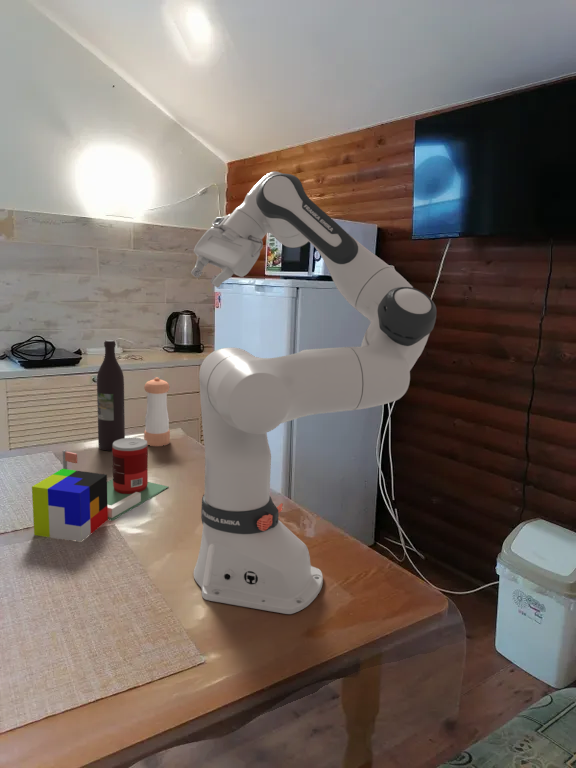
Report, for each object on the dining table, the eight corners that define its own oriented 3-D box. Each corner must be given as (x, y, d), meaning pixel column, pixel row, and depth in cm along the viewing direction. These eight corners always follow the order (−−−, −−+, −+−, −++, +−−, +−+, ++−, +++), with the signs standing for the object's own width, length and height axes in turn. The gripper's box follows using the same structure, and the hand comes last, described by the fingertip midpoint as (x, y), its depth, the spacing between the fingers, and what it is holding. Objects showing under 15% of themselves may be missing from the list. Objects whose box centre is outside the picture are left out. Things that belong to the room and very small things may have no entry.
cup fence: (140, 501, 131) (140, 449, 128) (112, 517, 122) (111, 462, 120) (92, 489, 136) (91, 439, 133) (62, 504, 127) (60, 451, 125)
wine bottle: (96, 444, 167) (93, 339, 160) (122, 442, 170) (120, 338, 164) (100, 452, 161) (98, 343, 154) (127, 449, 164) (125, 342, 157)
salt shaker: (146, 447, 167) (145, 380, 163) (142, 439, 173) (142, 375, 169) (172, 445, 169) (172, 379, 165) (167, 437, 176) (167, 374, 172)
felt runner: (168, 487, 140) (168, 486, 140) (111, 520, 122) (111, 519, 122) (120, 476, 145) (120, 475, 145) (59, 506, 127) (59, 505, 127)
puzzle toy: (81, 542, 112) (79, 493, 110) (34, 535, 114) (31, 486, 112) (107, 520, 122) (106, 474, 120) (63, 513, 124) (62, 468, 122)
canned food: (153, 483, 141) (152, 439, 139) (138, 496, 133) (138, 449, 131) (122, 479, 142) (122, 435, 140) (107, 492, 134) (106, 446, 132)
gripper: (274, 250, 129) (235, 299, 128) (228, 235, 144) (192, 279, 143) (257, 231, 125) (217, 281, 124) (211, 217, 140) (174, 262, 139)
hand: (203, 280), depth 133 cm, fingers open, 8 cm apart
